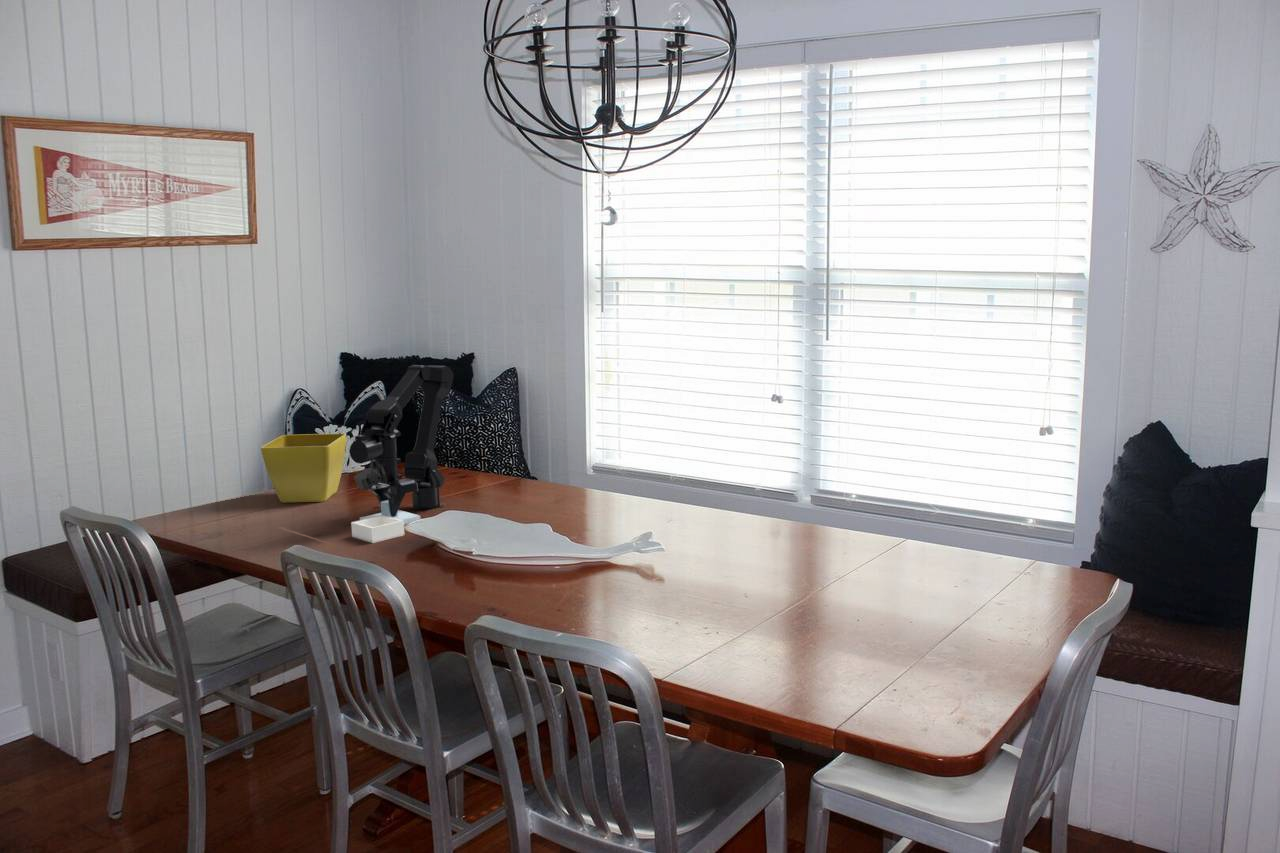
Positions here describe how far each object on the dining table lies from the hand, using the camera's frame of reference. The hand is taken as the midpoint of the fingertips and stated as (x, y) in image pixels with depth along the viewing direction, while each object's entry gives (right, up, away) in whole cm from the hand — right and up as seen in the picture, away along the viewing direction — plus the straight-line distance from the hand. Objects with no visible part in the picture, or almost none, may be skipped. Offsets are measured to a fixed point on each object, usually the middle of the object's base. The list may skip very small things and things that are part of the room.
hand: (389, 515), depth 280 cm
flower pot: (-30, +2, +32) cm, 44 cm away
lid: (0, -2, 0) cm, 2 cm away
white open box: (0, -4, -14) cm, 14 cm away
